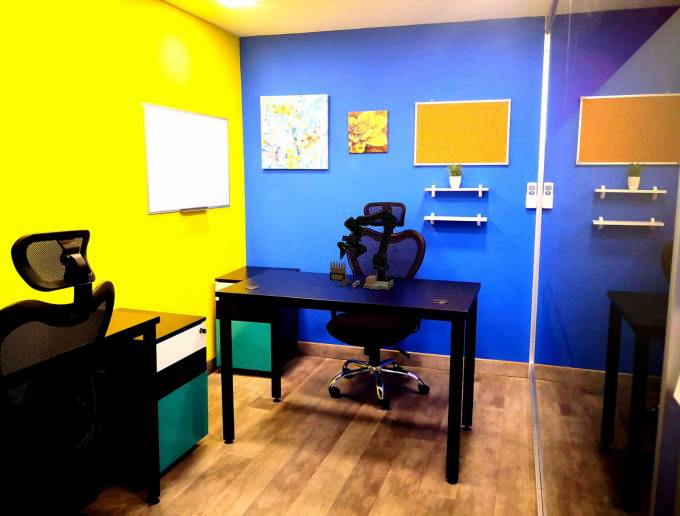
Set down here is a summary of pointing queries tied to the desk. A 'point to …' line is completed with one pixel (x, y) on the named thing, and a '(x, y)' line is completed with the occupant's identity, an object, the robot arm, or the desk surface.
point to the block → (371, 280)
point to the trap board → (375, 286)
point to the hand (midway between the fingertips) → (346, 260)
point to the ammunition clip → (337, 271)
